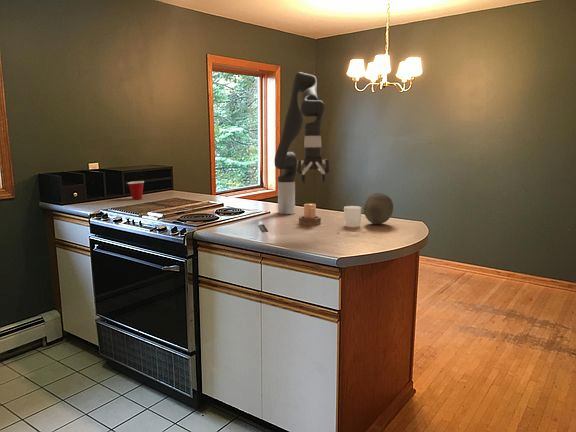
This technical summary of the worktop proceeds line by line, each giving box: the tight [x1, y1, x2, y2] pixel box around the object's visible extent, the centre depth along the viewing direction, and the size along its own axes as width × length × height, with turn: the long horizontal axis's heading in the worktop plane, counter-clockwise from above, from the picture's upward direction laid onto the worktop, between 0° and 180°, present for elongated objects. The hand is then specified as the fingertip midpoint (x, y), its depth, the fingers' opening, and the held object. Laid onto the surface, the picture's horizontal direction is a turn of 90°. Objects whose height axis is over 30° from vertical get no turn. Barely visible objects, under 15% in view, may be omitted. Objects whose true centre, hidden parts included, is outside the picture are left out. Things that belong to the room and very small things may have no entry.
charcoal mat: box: [258, 224, 269, 233], centre depth 211 cm, size 14×12×1 cm
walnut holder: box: [292, 215, 329, 228], centre depth 213 cm, size 14×14×4 cm
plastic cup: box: [127, 180, 145, 201], centre depth 307 cm, size 11×11×12 cm
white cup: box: [343, 205, 362, 228], centre depth 208 cm, size 8×8×10 cm
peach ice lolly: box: [303, 203, 317, 219], centre depth 211 cm, size 9×6×9 cm, turn 10°
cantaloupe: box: [363, 192, 394, 226], centre depth 217 cm, size 14×14×15 cm
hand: (313, 182), depth 206 cm, fingers open, 8 cm apart
